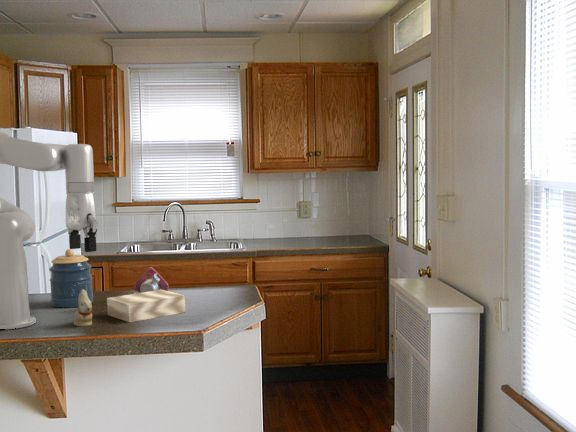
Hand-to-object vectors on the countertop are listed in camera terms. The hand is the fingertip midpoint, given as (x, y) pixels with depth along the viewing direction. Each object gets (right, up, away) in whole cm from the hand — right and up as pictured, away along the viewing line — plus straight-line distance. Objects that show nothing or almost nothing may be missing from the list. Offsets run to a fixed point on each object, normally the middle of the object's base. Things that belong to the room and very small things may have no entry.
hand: (82, 250), depth 203 cm
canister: (-12, -19, +29) cm, 37 cm away
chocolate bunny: (0, -21, 0) cm, 21 cm away
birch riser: (+16, -19, +11) cm, 27 cm away
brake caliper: (+14, -18, +29) cm, 37 cm away
